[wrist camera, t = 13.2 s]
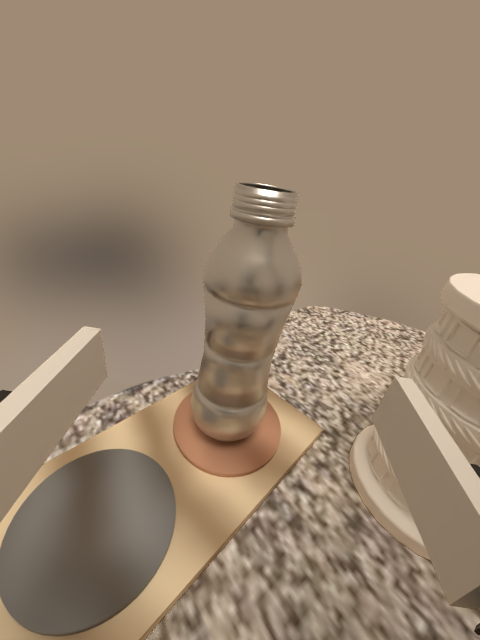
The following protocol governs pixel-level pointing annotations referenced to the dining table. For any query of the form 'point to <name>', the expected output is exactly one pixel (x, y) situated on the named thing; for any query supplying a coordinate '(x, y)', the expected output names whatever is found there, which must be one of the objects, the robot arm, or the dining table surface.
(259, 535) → the dining table surface
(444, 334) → the decorative container
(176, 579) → the board
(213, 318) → the plastic bottle
